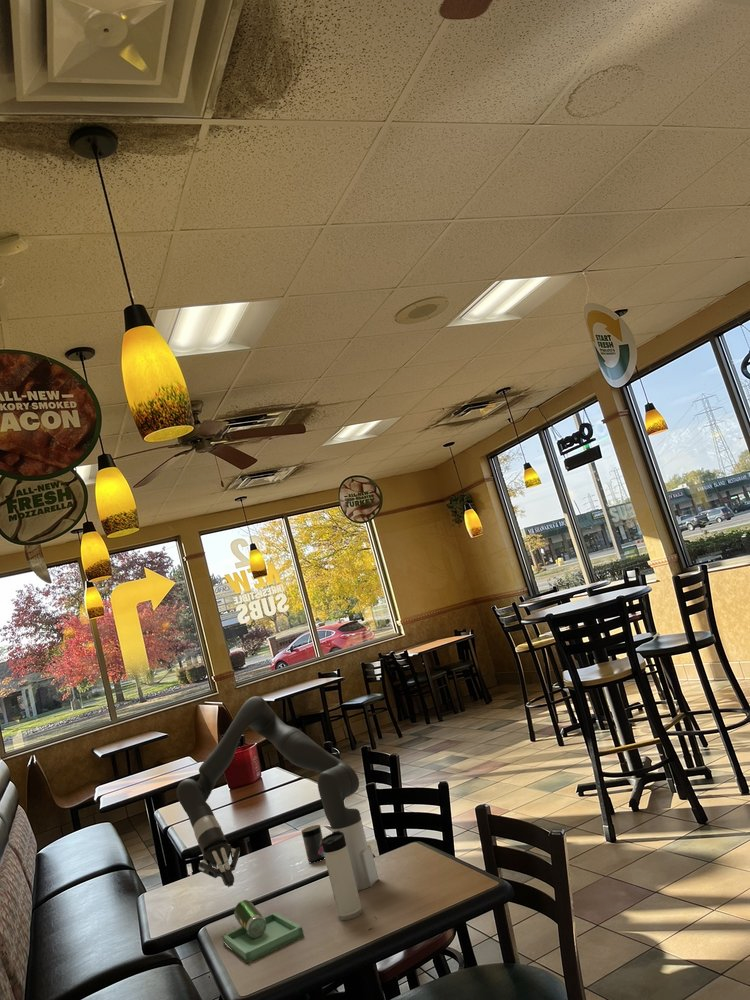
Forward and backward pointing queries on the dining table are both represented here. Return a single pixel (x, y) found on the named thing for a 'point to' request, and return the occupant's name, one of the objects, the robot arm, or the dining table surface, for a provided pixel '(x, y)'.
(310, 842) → the supplement container
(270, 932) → the tray
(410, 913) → the dining table surface
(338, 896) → the travel mug
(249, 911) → the beer can
